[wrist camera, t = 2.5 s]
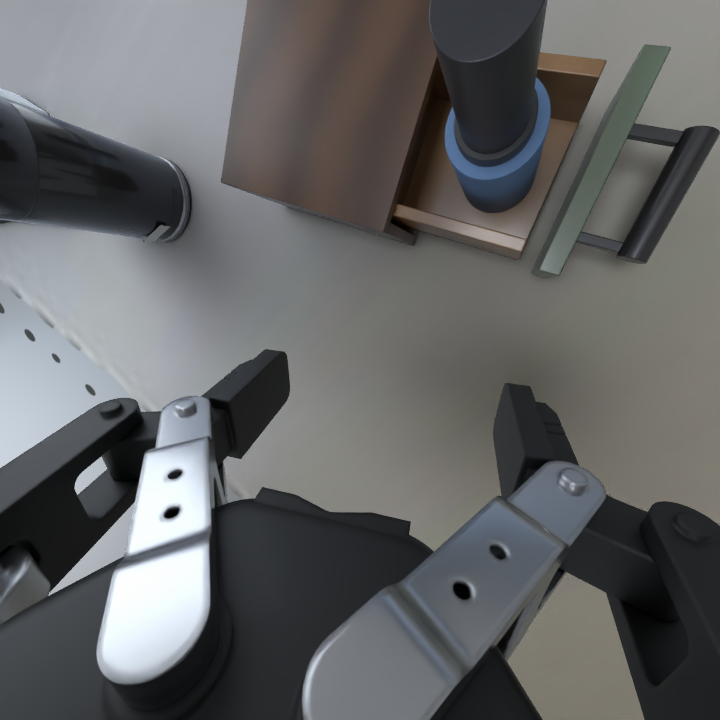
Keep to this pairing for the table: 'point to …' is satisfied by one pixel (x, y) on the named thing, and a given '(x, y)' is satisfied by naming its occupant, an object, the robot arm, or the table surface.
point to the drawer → (556, 168)
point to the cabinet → (331, 106)
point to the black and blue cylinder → (492, 95)
